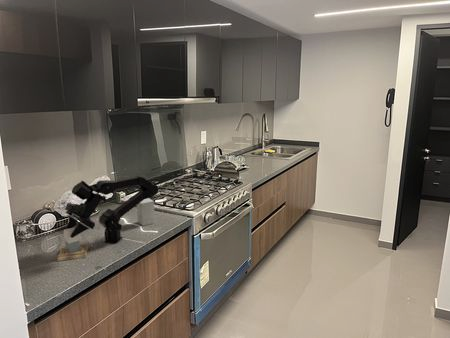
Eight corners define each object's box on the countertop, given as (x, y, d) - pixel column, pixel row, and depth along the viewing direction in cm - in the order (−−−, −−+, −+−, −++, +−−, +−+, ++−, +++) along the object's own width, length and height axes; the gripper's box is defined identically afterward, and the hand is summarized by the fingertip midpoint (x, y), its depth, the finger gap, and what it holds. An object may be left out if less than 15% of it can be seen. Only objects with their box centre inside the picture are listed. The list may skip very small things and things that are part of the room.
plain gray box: (76, 247, 154) (74, 227, 152) (80, 250, 151) (78, 229, 149) (66, 251, 151) (63, 229, 149) (70, 254, 148) (67, 232, 145)
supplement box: (155, 223, 185) (154, 201, 183) (142, 226, 181) (140, 203, 179) (150, 219, 191) (148, 197, 189) (137, 222, 187) (136, 200, 185)
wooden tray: (88, 246, 158) (87, 242, 157) (85, 257, 147) (85, 252, 147) (62, 249, 155) (61, 245, 154) (57, 260, 144) (57, 256, 144)
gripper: (68, 191, 155) (45, 221, 150) (84, 200, 142) (60, 232, 136) (87, 204, 162) (65, 232, 157) (104, 213, 149) (82, 244, 144)
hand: (68, 235), depth 148 cm, fingers open, 7 cm apart
